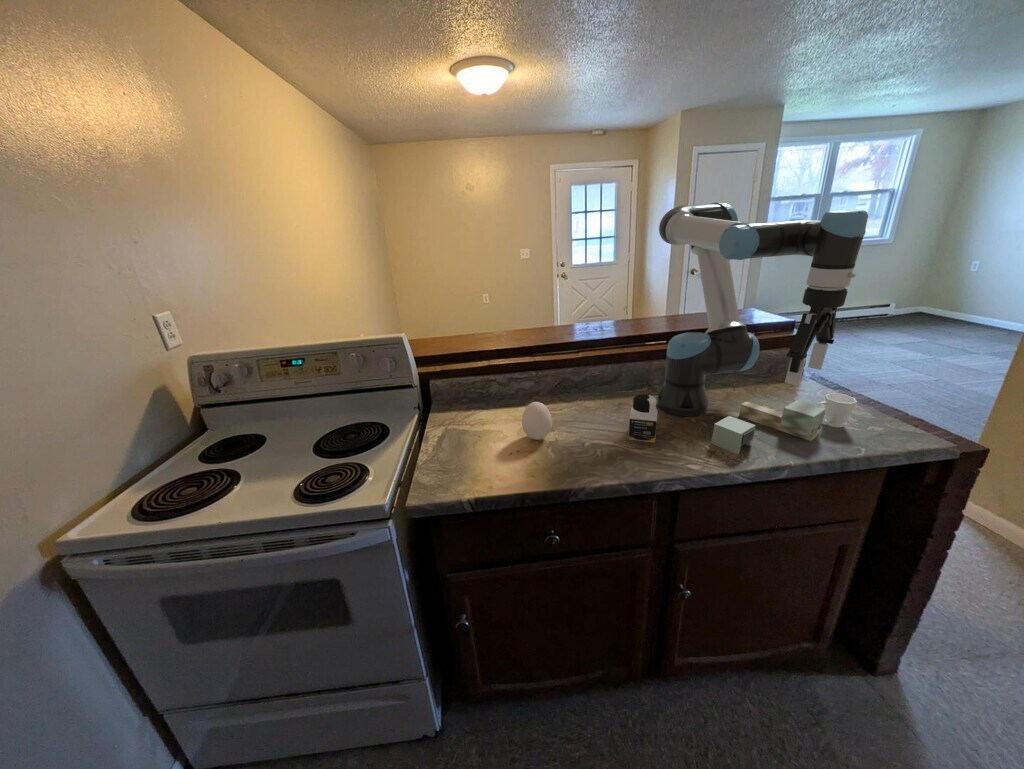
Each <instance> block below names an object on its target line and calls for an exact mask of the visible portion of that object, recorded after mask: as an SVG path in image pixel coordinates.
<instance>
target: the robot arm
mask: <svg viewBox="0 0 1024 769" xmlns="http://www.w3.org/2000/svg"><path fill="white" fill-rule="evenodd" d="M868 217H869V214H868V212H867V211H866V210H865V209H864V210H863V209H852V210H851V209H845V210H843V209H841V210H829V211H826V212H824V213H823V216H822V219H821V220H812V219H811V220H810V219H800V218H797V219H789V220H788V219H787V220H784V221H775V222H763V223H762V222H761V223H756V222H754V223H751V222H744V221H743V222H742V221H739V218H738V213H737V212H736V210H735V208H734V207H733V206H732V205H730V204H729V203H726V202H725V203H724V202H722V203H721V202H712V203H704V204H703V203H702V204H689V205H688V204H687V205H679V206H675V207H673V208H671V209H670V210H668V211H667V212H666V213H665V214H664V215H663V217H662V218H661V219H660V222H659V226H658V232H659V236H660V237H661V239H662V240H663V241H664V242H665V243H666V244H670V245H673V246H683V245H689V246H690V249H691V253H692V254H693V255H695V256H697V260H698V264H699V273H700V279H701V286H702V290H703V291H702V292H703V297H704V303H705V310H706V316H707V321H708V328H707V330H706V331H705V332H684V333H680V334H677V335H674V336H673V337H671V339H670V340H669V341H668V343H667V348H666V361H665V362H666V363H665V374H664V382H663V384H662V387H661V388H660V391H659V392H658V396H657V398H656V407H657V408H659V409H660V410H661V411H662V412H665V413H667V414H670V415H674V416H680V417H695V416H696V417H697V416H702V415H703V414H705V413H706V412H707V411H708V407H709V400H708V396H707V393H706V387H705V383H706V376H710V375H717V374H727V373H732V374H733V373H738V372H743V371H747V370H749V369H751V368H752V367H753V366H754V365H755V364H756V362H757V360H758V358H759V355H760V343H759V339H758V338H757V337H756V335H755V334H753V333H751V332H748V327H747V325H746V324H745V323H743V322H741V320H740V314H739V308H738V303H737V298H736V292H735V291H736V290H735V284H734V279H733V273H732V266H731V260H735V261H736V260H737V261H742V260H746V259H747V260H748V259H756V258H757V259H760V258H769V257H783V256H784V257H785V256H792V255H793V256H794V255H795V256H798V255H799V256H806V257H808V256H809V257H812V259H811V260H812V261H811V263H810V268H809V270H808V276H807V279H806V285H807V287H805V289H804V293H803V297H802V303H803V305H805V306H809V308H810V309H809V311H808V312H807V313H806V312H805V313H804V312H803V313H802V316H801V320H800V323H799V325H798V328H797V330H796V333H795V336H794V338H793V340H792V343H791V345H790V348H789V349H788V352H787V353H786V357H787V358H789V363H788V368H787V372H786V376H785V380H784V383H785V384H788V385H792V386H795V387H799V386H800V383H801V379H802V376H803V372H804V368H805V364H806V361H807V360H806V359H807V358H806V356H807V353H808V352H809V349H810V347H811V346H812V350H811V353H810V357H809V360H808V364H807V368H809V369H815V370H818V371H821V370H822V369H823V366H824V362H825V357H826V354H827V351H828V346H829V344H830V345H833V344H834V342H835V339H834V334H835V328H836V327H835V326H836V318H837V310H838V308H841V307H843V306H844V305H845V302H846V299H847V295H848V291H849V290H848V289H847V288H848V287H849V286H850V284H851V280H852V279H853V278H855V277H856V273H855V272H853V271H854V270H855V269H854V268H856V262H857V259H858V256H859V252H860V249H861V246H862V243H863V240H864V236H865V235H866V229H867V222H868V220H869V218H868ZM815 339H816V341H814V340H815ZM812 343H813V345H812Z"/></svg>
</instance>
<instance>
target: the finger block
mask: <svg viewBox="0 0 1024 769" xmlns="http://www.w3.org/2000/svg"><path fill="white" fill-rule="evenodd" d="M713 424H714V426H713V432H712V438H711V444H713V445H715V446H718V448H721V449H723V450H726V451H730V453H734V454H736V455H738V454H740V452H741V447H742V446H744V445H745V446H748V447H751V446H752V444H753V440H754V435H755V431H756V424H753V423H750V422H747V421H745V420H743V419H739V418H737V417H733V416H731V415H728V416H726V417H724V418H723V419H720V420H719V421H717V422H715V423H713Z"/></svg>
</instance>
